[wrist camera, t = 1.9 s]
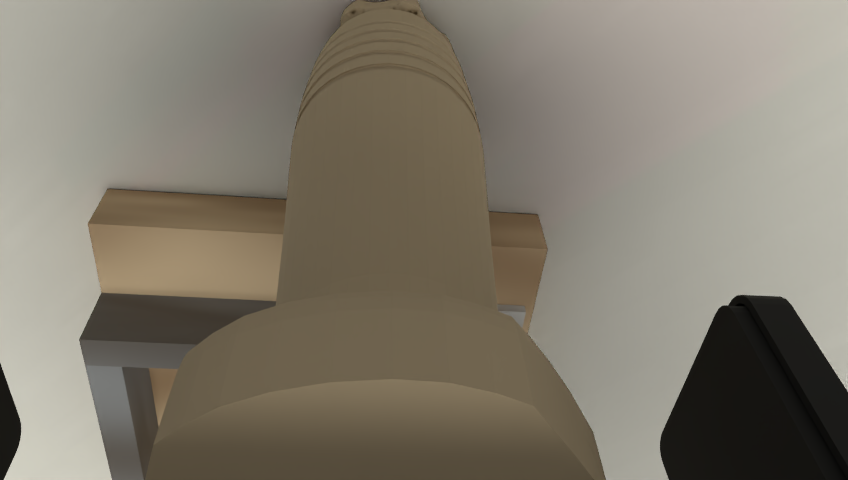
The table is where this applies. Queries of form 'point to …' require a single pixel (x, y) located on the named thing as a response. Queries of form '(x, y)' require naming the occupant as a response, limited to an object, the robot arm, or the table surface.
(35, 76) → the table surface
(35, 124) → the table surface
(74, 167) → the table surface
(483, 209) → the handle
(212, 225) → the wooden tray
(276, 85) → the table surface
